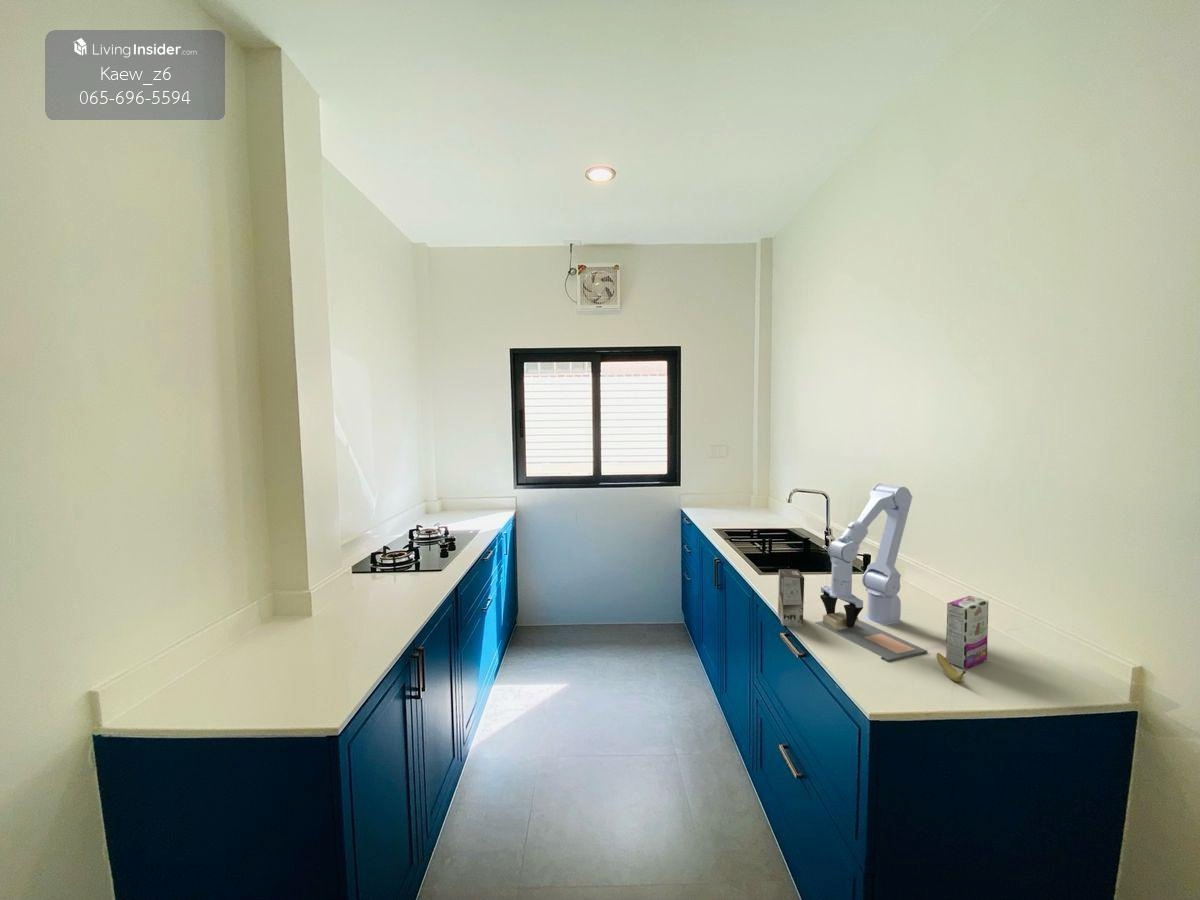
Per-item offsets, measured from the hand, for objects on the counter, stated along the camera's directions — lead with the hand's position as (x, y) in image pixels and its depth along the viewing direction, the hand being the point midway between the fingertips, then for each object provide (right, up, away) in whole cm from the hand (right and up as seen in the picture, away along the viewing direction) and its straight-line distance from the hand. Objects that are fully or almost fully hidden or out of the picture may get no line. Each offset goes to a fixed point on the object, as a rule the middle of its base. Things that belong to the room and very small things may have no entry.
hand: (840, 622), depth 153 cm
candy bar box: (+23, -3, -22) cm, 32 cm away
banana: (+13, -4, -30) cm, 33 cm away
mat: (+4, -2, -7) cm, 9 cm away
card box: (0, -1, 0) cm, 1 cm away
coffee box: (-14, -2, +4) cm, 15 cm away
